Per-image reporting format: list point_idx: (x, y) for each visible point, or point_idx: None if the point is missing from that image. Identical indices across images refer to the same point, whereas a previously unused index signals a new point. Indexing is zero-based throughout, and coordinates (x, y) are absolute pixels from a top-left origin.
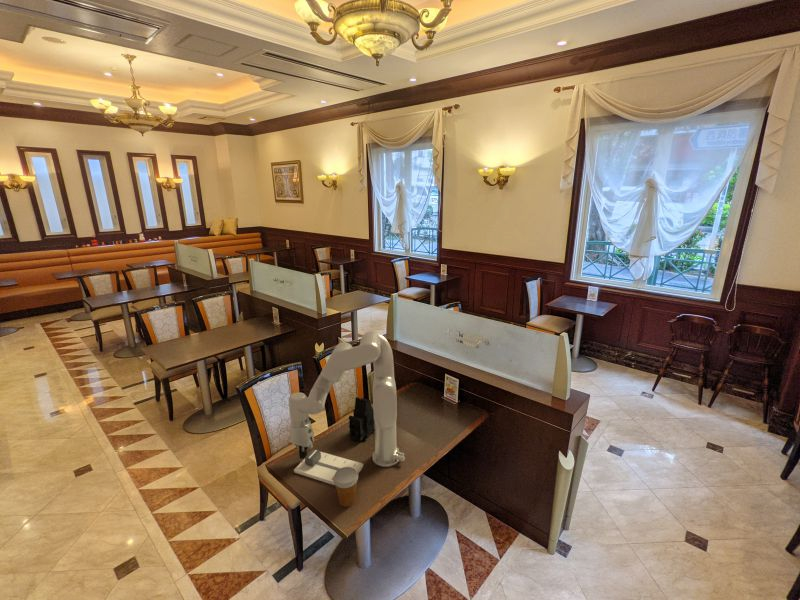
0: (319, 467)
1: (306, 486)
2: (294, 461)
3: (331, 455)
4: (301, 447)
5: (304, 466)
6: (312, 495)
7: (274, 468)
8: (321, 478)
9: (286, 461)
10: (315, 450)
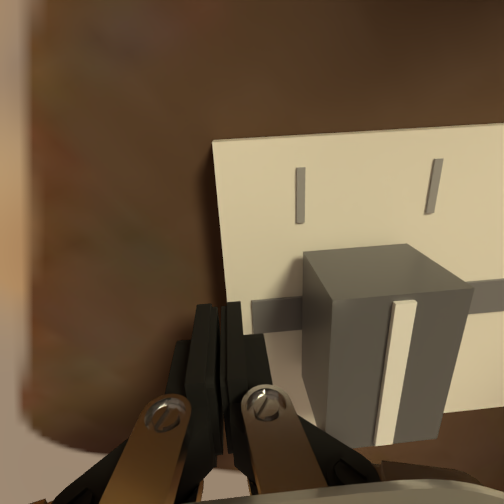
0: None
1: (398, 448)
2: (137, 331)
3: (498, 139)
4: (198, 457)
5: (299, 381)
6: (466, 471)
7: (62, 443)
8: (499, 404)
9: (72, 359)
10: (396, 316)
